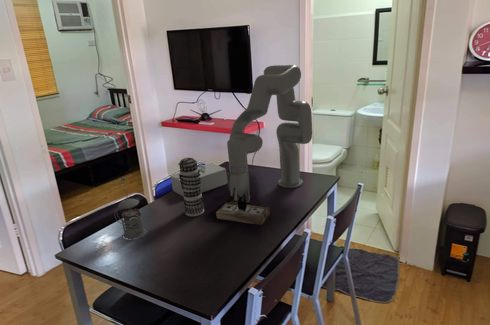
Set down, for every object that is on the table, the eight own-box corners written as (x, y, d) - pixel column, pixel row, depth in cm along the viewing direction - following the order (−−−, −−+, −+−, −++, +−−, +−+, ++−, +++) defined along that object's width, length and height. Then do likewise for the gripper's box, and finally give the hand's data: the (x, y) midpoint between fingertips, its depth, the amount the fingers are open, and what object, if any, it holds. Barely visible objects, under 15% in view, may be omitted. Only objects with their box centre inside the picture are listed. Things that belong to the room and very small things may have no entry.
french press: (140, 240, 137) (128, 182, 129) (113, 240, 140) (100, 182, 132) (151, 228, 146) (140, 172, 138) (125, 227, 149) (113, 172, 141)
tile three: (240, 212, 153) (239, 205, 152) (250, 213, 151) (250, 206, 150) (235, 217, 148) (234, 210, 147) (246, 218, 146) (245, 212, 145)
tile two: (253, 213, 150) (253, 207, 149) (264, 215, 148) (264, 208, 147) (249, 219, 146) (248, 212, 145) (260, 220, 144) (259, 213, 143)
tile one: (227, 210, 155) (226, 203, 154) (237, 211, 153) (236, 205, 152) (221, 215, 151) (221, 208, 150) (232, 216, 149) (231, 210, 148)
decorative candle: (206, 214, 154) (199, 160, 146) (185, 218, 152) (177, 164, 144) (203, 205, 163) (197, 154, 154) (183, 209, 161) (175, 158, 153)
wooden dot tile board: (227, 208, 158) (226, 202, 157) (269, 213, 150) (269, 207, 149) (216, 218, 150) (216, 212, 149) (261, 225, 141) (261, 218, 140)
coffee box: (250, 197, 167) (247, 165, 162) (249, 203, 161) (246, 170, 156) (231, 197, 168) (228, 166, 163) (229, 203, 162) (226, 171, 157)
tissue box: (227, 184, 186) (225, 164, 183) (185, 198, 173) (182, 178, 169) (213, 177, 197) (211, 159, 194) (173, 190, 184) (169, 171, 180)
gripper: (238, 161, 150) (241, 200, 156) (222, 174, 138) (226, 215, 144) (254, 162, 147) (257, 202, 153) (239, 175, 135) (243, 218, 141)
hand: (242, 208), depth 148 cm, fingers closed
